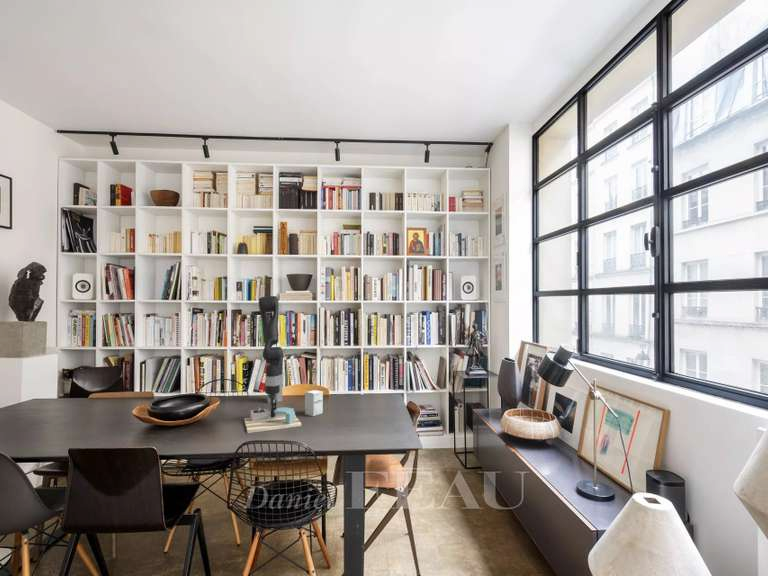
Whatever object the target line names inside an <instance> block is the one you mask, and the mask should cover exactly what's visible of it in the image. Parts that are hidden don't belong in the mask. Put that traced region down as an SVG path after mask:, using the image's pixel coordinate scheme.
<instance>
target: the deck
mask: <svg viewBox="0 0 768 576" xmlns="http://www.w3.org/2000/svg"><path fill="white" fill-rule="evenodd" d="M243 420H244V421H243V422H244V425H245V429H246V433H247V434H251V433H257V432H259V433H260V432H266V431H271V430H272V431H273V430H282V429H289V428H295V427H302V422H301V421H300V419H299V418H298V417H297V416H296V415H295V421H294V422H293V423H291V424H286V417H280V418H272V419H267V420H263V421H254V422H252V420H251V417H244V418H243Z"/></svg>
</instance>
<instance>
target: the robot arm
mask: <svg viewBox="0 0 768 576" xmlns="http://www.w3.org/2000/svg"><path fill="white" fill-rule="evenodd" d="M279 305H280V304H279V299H278V297H277V296H276V295H269V296H268V295H267V296H261V297H260V298H259V299H258V308H259V314H260V319H261V327H262V335H263V336H262V337H263V341H264V348H263V351H262V359H263V360H265V363H266V364H268V365H266V366H265V381H264V384H265V389H264V390H265V391H264V392H265V394H266V395H267V399H266V400H267V401H266V402H267V403H268V407H269V408H268V409H270V410H271V417H275V413H274V411H275V410H276V408H277V403H280V402H281V403H282V401H283V366H284V365H283V364H284V350H283V349H282V347H280V346H275V345H277V344H279V313H280V312H279V311H280V307H279ZM268 313H272V316H271V317H270V316H269V314H268Z"/></svg>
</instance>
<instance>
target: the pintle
mask: <svg viewBox="0 0 768 576" xmlns="http://www.w3.org/2000/svg"><path fill="white" fill-rule="evenodd" d="M261 409H262V407H261V406H257V407H256V410H257V413H261Z"/></svg>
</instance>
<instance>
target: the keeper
mask: <svg viewBox="0 0 768 576" xmlns="http://www.w3.org/2000/svg"><path fill="white" fill-rule="evenodd" d="M283 407H284V406H281V407H278V408H279V409H277V410H275V411H274V413H281V414H286V424H291V423H293V422H294V421H295V416H296V411H295V410H294V409H295V408H291V407H288V408H283Z"/></svg>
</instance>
